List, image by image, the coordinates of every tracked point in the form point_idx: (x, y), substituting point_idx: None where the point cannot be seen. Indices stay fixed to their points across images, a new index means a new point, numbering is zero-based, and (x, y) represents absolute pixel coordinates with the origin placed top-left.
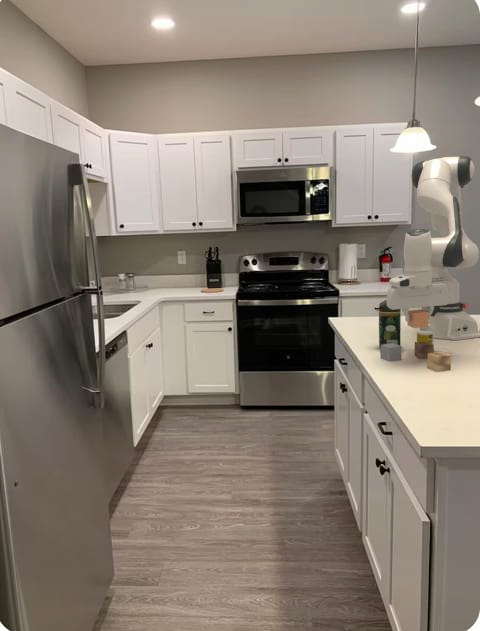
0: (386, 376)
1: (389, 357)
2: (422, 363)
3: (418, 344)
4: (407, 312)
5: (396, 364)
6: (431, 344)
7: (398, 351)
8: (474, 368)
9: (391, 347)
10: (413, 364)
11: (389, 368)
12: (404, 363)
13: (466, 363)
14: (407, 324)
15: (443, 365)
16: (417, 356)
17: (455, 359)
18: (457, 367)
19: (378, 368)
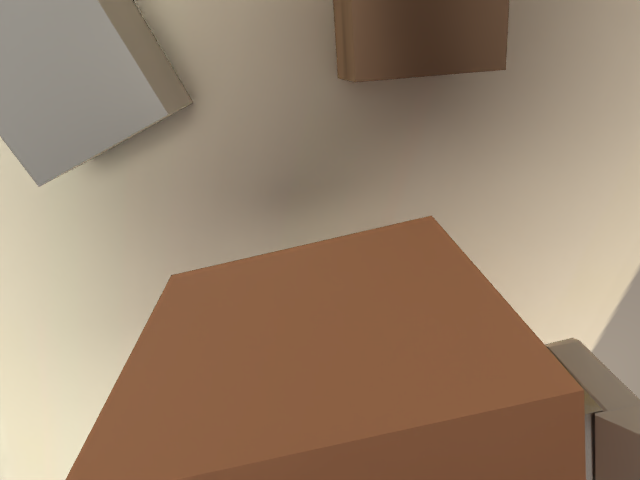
0: None
1: (79, 165)
2: (335, 211)
3: (357, 47)
4: (79, 458)
5: (144, 236)
6: (488, 54)
7: (148, 126)
8: (609, 319)
9: (59, 170)
10: (266, 236)
11: (91, 329)
12: (206, 210)
13: (621, 213)
14: (169, 282)
15: None
16: (336, 36)
17: (601, 105)
18: (524, 301)
19: (15, 331)
